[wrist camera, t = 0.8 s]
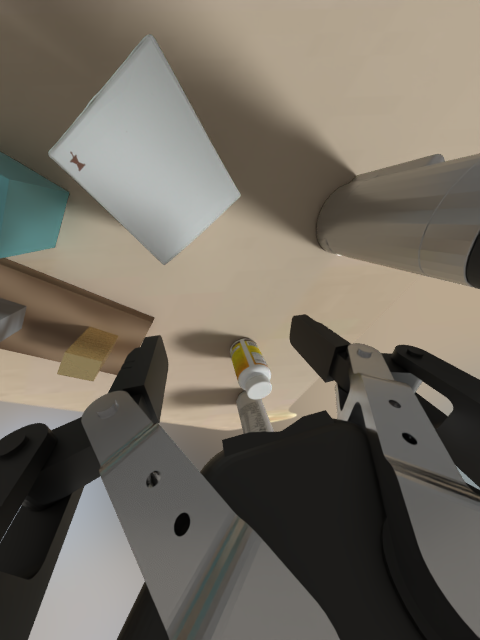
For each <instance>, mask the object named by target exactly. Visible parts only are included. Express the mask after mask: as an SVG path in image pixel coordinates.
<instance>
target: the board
mask: <svg viewBox="0 0 480 640" xmlns="http://www.w3.org/2000/svg"><path fill="white" fill-rule="evenodd" d="M153 320H154V317H151V316H149V315H146V314H144V313H141V312H139V311H136V310H134V309H131V308H129V307H126V306H124V305H121V304H119V303H116V302H114V301H111V300H109V299H106V298H104V297H101V296H99V295H96V294H94V293H91V292H89V291H86V290H84V289H81V288H78V287H76V286H73V285H71V284H68V283H66V282H63V281H61V280H58V279H56V278H53V277H51V276H48V275H46V274H43V273H41V272H38V271H36V270H33V269H31V268H28V267H26V266H23V265H21V264H18V263H16V262H13V261H11V260H8V259H6V258H0V349H5V350H9V351H13V352H18V353H22V354H27V355H31V356H36V357H40V358H44V359H49V360H53V361H58V362H61V361H62V359H63V356H64V353H65V352H66V350H67V349H68V348H69V347H70V346H71V345H72V344H73V343H74V342H75V341H76V340H77V339H78V338H79V337H80V336H81V335H82V334H83V333H84V332H85V331H86V330H87V329H88V328H89V327H93V328H96V329H99V330H102V331H105V332H109V333H112V334H115V335H118V338H117V341H116V343H115V345H114V347H113V349H112V351H111V353H110V355H109V357H108V358H107V360H106V361H105V363H104V365H103V366H102V368H101V370H100V371H102V372H106V373H110V374H115V375H118V373H119V371H120V370H121V367H122V365H123V364H124V361H125V359H126V357H127V355H128V354H129V353H130V352H131V351H132V350H134V349H135V348H139V347H140V345H141V343H142V341H143V339H144V338H145V336H146V334H147V332H148V330H149V328H150V326H151V324H152V323H153Z"/></svg>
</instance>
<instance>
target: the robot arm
mask: <svg viewBox="0 0 480 640" xmlns="http://www.w3.org/2000/svg"><path fill="white" fill-rule="evenodd" d="M317 238H318V241H319V244H320V245H321V247H322V248H323V249H324V250H325V251H327V252H330V253H333V254H336V255H340V256H346V257H349V258H353V259H358V260H362V261H366V262H370V263H374V264H378V265H383V266H387V267H391V268H395V269H399V270H403V271H408V272H412V273H416V274H420V275H424V276H428V277H433V278H437V279H441V280H445V281H449V282H453V283H458V284H462V285H466V286H470V287H475V288H478V289H480V154H476V155H471V156H467V157H463V158H458V159H454V160H450V161H444V157H443V156H442V155H441V154H435V155H431V156H427V157H424V158H420V159H416V160H412V161H409V162H405V163H401V164H398V165H394V166H390V167H386V168H383V169H379V170H375V171H372V172H368V173H364V174H360V175H357V176H356V177H355V178H354V179H353V181H352V182H350V183H348V184H346V185H343V186H341V187H340V188H338V189H337V190H335V191H334V192H333V193H332V194H331V195H330V196H329V198H328V199H327V200H326V202H325V203H324V205H323V207H322V209H321V211H320V214H319V217H318V222H317ZM290 342H291V345H292V346H293V347H294V348H295V349H296V350H297V352H298V353H299V354H300V355H301V356H302V357H303V358H304V359H305V360H306V362H307V363H308V364H309V365H310V366H311V367H312V368H313V369H314V370H315V372H316V373H317V374H318V375H319V376H320V377H321V378H322V379H323V380H324V382H330V381H333V380H335V381H336V385H335V394H336V405H337V419H332V418H331V417H330V415H329V414H328V413H327V411H326V410H325V411H322V412H318V413H314V414H311V415H307V416H304V417H302V418H300V419H299V420H297V421H296V422H295V423H293V424H292V425H290V426H289V427H287V428H286V429H284V430H283V431H280V432H249V433H245V434H242V435H238V436H235V437H231V438H228V439H224V440H222V442H223V450H222V451H221V452H219V453H218V454H216V455H215V456H214V457H213V458H212V459H211V460H210V461H209V462H208V463H207V464H206V465H205V466H204V467H203V469H202V470H201V471H200V472H199V471H198V469H197V468H196V467H195V466H194V465H193V464H192V463H191V461H190V460H189V459H188V458H187V457H186V455H185V454H184V453H183V452H182V451H181V450H180V448H179V447H178V446H177V445H176V444H175V443H174V441H173V440H172V439H171V438H170V437H169V435H168V434H167V433H166V432H165V431H164V430H163V428H162V427H161V426H160V425H159V424H158V423H159V422H160V416H161V410H162V403H163V397H164V391H165V385H166V379H167V373H168V358H167V354H166V351H165V347H164V344H163V340H162V337H161V336H160V335H158V336H151V337H145V338H144V340H143V343H142V345H141V347H139V348H135V349H134V350H132V351H131V352H130V353H129V354H128V355H127V357H126V359H125V361H124V364H123V365H122V367H121V370H120V371H119V373H118V375H117V377H116V378H115V380H114V382H113V384H112V386H111V388H110V390H109V392H108V394H105V395H103V396H101V397H100V398H98V399H97V400H95V401H94V402H93V403H92V404H90V405H89V406H88V408H87V409H86V410H85V411H84V413H83V415H82V417H80V418H78V419H76V420H74V421H72V422H70V423H67V424H65V425H63V426H60V427H58V428H56V429H53V430H50V429H49V428H48V427H47V426H46V425H45V424H42V423H37V424H31V425H28V426H25V427H22V428H20V429H18V430H16V431H14V432H12V433H10V434H8V435H7V436H5V437H4V438H2V439H1V440H0V542H1V543H0V640H28V638H29V635H30V632H31V629H32V627H33V624H34V621H35V618H36V616H37V613H38V611H39V608H40V605H41V602H42V600H43V597H44V594H45V591H46V589H47V586H48V583H49V580H50V578H51V575H52V572H53V570H54V567H55V564H56V562H57V559H58V556H59V553H60V551H61V548H62V545H63V543H64V540H65V537H66V534H67V532H68V529H69V526H70V524H71V521H72V518H73V515H74V513H75V510H76V507H77V505H78V502H79V499H80V496H81V494H82V491H83V488H84V486H85V485H86V484H88V483H90V482H91V481H93V480H95V479H96V478H98V477H100V476H101V478H102V480H103V483H104V485H105V487H106V490H107V492H108V495H109V497H110V500H111V502H112V504H113V507H114V509H115V511H116V514H117V516H118V518H119V520H120V523H121V525H122V528H123V530H124V532H125V535H126V537H127V539H128V542H129V544H130V547H131V549H132V551H133V554H134V556H135V558H136V560H137V563H138V565H139V568H140V570H141V572H142V575H143V577H144V579H145V582H144V584H143V587H142V589H141V591H140V593H139V595H138V597H137V599H136V601H135V603H134V605H133V607H132V609H131V611H130V613H129V615H128V617H127V619H126V622H125V624H124V626H123V628H122V630H121V632H120V634H119V636H118V638H117V640H480V490H479V489H477V488H475V487H473V486H471V485H469V484H467V483H466V482H465V481H464V480H463V478H462V476H461V474H460V473H459V471H458V470H457V467H458V468H459V469H460V470H461V471H462V472H463V473H464V474H466V475H467V476H468V477H469V478H470V479H471V480H472V481H473V482H474V483H475V484H476V485H477V486H479V487H480V380H479V379H477V378H475V377H473V376H471V375H470V374H468V373H466V372H464V371H462V370H460V369H458V368H456V367H454V366H453V365H451V364H449V363H447V362H445V361H443V360H441V359H439V358H437V357H436V356H434V355H432V354H430V353H428V352H426V351H424V350H422V349H419V348H417V347H413V346H409V345H398V346H396V347H395V350H394V351H393V354H387V353H380V352H379V351H378V350H376V349H375V348H373V347H370V346H368V345H365V344H360V343H355V344H350V343H349V342H348V341H346V340H345V339H343V338H342V337H340V336H339V335H337V334H336V333H335V332H334V333H333V331H332V330H330V329H328V328H327V327H326V326H324V325H323V324H321V323H319V322H316V321H314V320H313V319H312V318H310V317H309V316H307V315H305V314H304V315H297V316H293V318H292V322H291V330H290ZM422 381H423V382H425V383H426V384H428V385H429V386H430V387H432V388H433V389H435V390H436V391H438V392H439V393H441V394H442V395H444V396H445V397H447V398H448V399H449V400H450V401H451V403H452V404H453V411H452V413H451V414H450V415H449V416H446V415H445V414H444V413H443V412H441V411H440V410H439V409H437V408H436V407H435V406H433V405H432V404H431V403H429V402H428V401H426V400H425V399H424V398H423V397H421V396H420V395H419V394H417V393H416V390H417V389H418V387H419V386H420V384H421V383H422ZM455 465H456V466H457V467H456V466H455ZM21 505H22V506H21ZM20 507H21V508H20ZM19 508H20V509H19ZM18 510H19V511H18ZM17 512H18V513H17ZM16 514H17V515H16ZM15 515H16V516H15ZM14 517H15V518H14ZM13 519H14V520H13ZM12 521H13V522H12ZM11 522H12V523H11ZM10 524H11V525H10ZM9 526H10V527H9ZM8 527H9V529H8ZM7 529H8V530H7ZM6 531H7V532H6ZM5 533H6V534H5ZM4 535H5V536H4ZM3 536H4V538H3ZM2 538H3V539H2ZM1 540H2V541H1Z"/></svg>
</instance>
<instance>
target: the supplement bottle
mask: <svg viewBox="0 0 480 640" xmlns="http://www.w3.org/2000/svg"><path fill="white" fill-rule="evenodd" d="M230 355H231V359H232V362H233V366H234V369H235V373H236V376H237V380H238V383H239V385H240V387H241V388H242V389H244V390H246V392H247V395H248V397H249V398H251V399H261V398H264V397H266V396H267V395H268V394H269V393H270V392H271V390H272V385H271V383H270V378H271V372H270V370H269V368H268V366H267V364H266V362H265V360H264V358H263V356H262V354H261V352H260V350H259V348H258V346H257V345H256V343H255V342H254V341H253V340H251V339H247V338H244V339H240V340H238V341H236V342H235V343H234V344H233V345H232V346H231V349H230Z"/></svg>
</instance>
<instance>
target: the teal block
mask: <svg viewBox="0 0 480 640" xmlns="http://www.w3.org/2000/svg"><path fill="white" fill-rule="evenodd" d="M68 196H69V192H68V191H66V190H64V189H63V188H61V187H59V186H58V185H56V184H54V183H53V182H51V181H49V180H48V179H46V178H44V177H43V176H41V175H39V174H37V173H36V172H34V171H32V170H31V169H29V168H27V167H26V166H24V165H22V164H21V163H19V162H17V161H16V160H14V159H12V158H11V157H9V156H7V155H5V154H4V153H2V152H0V258H5V257H10V256H15V255H20V254H25V253H30V252H35V251H40V250H44V249H49V248H54V247H55V246H56V242H57V238H58V234H59V230H60V227H61V223H62V219H63V215H64V211H65V208H66V204H67V200H68Z"/></svg>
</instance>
